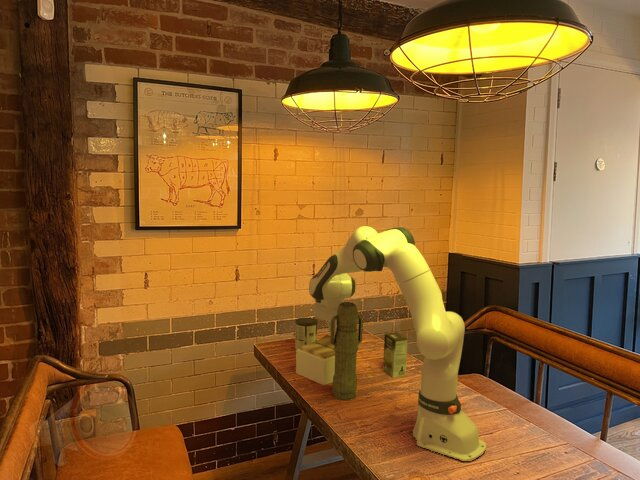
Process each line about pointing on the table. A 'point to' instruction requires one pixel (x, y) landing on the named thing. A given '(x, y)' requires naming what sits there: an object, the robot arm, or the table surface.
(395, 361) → the coffee box
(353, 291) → the robot arm
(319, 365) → the display stand
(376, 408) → the table surface
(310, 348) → the laid board
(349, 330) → the thermos
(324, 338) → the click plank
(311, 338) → the coffee can
